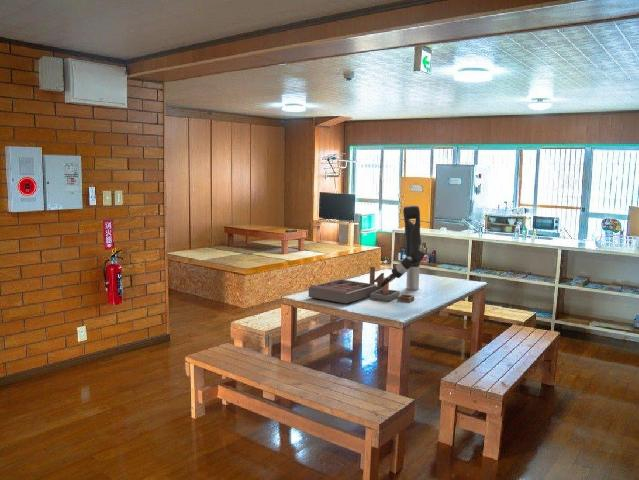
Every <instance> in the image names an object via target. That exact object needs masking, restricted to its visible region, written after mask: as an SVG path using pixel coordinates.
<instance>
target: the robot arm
mask: <svg viewBox="0 0 639 480" xmlns="http://www.w3.org/2000/svg"><path fill="white" fill-rule="evenodd" d="M402 212H403V213H402V215H403V220H404V222H403V223H404V237H405V238H404V239H405V256H406V257H404V258H403V259H402V260H401V261H400V262H399V263H398V264H397V265H395V266H394V267H393V268H392V269H391V273H390V274H388V276H387V278H386V279H385V280H384V282H383V283H382V284H381V287H383V286H384V285H386V284H387V283H388V282H389V283H391V282H393V281H394V280H395V279H396V278H397V279H401V277H402V276H403V275H405V274H406V285H405V286H406V287H405V288H406V289H407V290H412V291H413V290H419V288H420V287H419V285H420V262H421V261H423V259H424V258H425V252H424V250H422V249H421V246H422V238H421V213H420V212H421V210H420V207H419V206H418V205H416V204H415V205H406V206H404V207H403V211H402ZM412 220H415V223H414V222H413V221H412ZM386 281H387V282H386Z"/></svg>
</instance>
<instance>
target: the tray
mask: <svg viewBox="0 0 639 480" xmlns="http://www.w3.org/2000/svg"><path fill="white" fill-rule="evenodd" d="M382 293H383V289H379V290H377V291H375V292H373V293H371V294H370V296H369V297H370V299H369V300H372V301H379V302H385V303H386V302H387V303H390V302H392V301H394V300H396V299H398V296H400V295H401V291H400V290H394V289H389V290H388V295H382Z"/></svg>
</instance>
